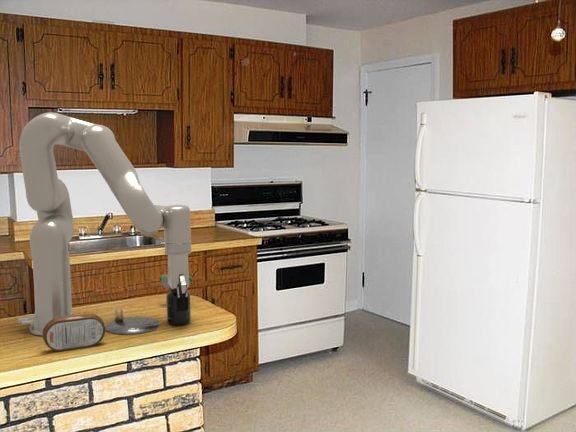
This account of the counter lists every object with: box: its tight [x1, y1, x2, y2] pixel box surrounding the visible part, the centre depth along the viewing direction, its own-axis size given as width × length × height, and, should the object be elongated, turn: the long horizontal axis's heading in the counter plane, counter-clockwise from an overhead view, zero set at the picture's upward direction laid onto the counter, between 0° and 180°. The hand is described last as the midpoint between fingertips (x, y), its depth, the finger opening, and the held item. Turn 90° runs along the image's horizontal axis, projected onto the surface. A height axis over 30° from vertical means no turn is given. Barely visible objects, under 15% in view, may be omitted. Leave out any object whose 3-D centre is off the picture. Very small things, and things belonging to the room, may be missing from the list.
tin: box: [42, 313, 106, 352], centre depth 147 cm, size 15×3×8 cm, turn 118°
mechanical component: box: [158, 273, 193, 289], centre depth 187 cm, size 3×10×10 cm, turn 89°
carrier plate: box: [104, 308, 160, 336], centre depth 166 cm, size 15×15×4 cm
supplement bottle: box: [165, 286, 192, 327], centre depth 168 cm, size 7×7×12 cm
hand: (180, 306), depth 169 cm, fingers open, 9 cm apart
